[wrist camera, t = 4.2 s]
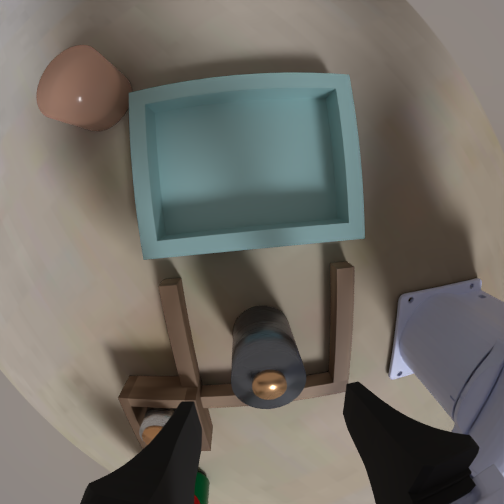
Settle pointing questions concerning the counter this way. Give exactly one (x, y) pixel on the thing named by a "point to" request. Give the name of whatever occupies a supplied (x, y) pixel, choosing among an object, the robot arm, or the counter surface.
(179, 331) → the cradle
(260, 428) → the counter surface
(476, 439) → the robot arm
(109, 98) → the peach glossy rounded part
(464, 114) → the counter surface
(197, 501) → the soda can
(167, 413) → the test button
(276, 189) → the teal tray
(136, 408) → the square wooden box
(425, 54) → the counter surface
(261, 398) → the cell
